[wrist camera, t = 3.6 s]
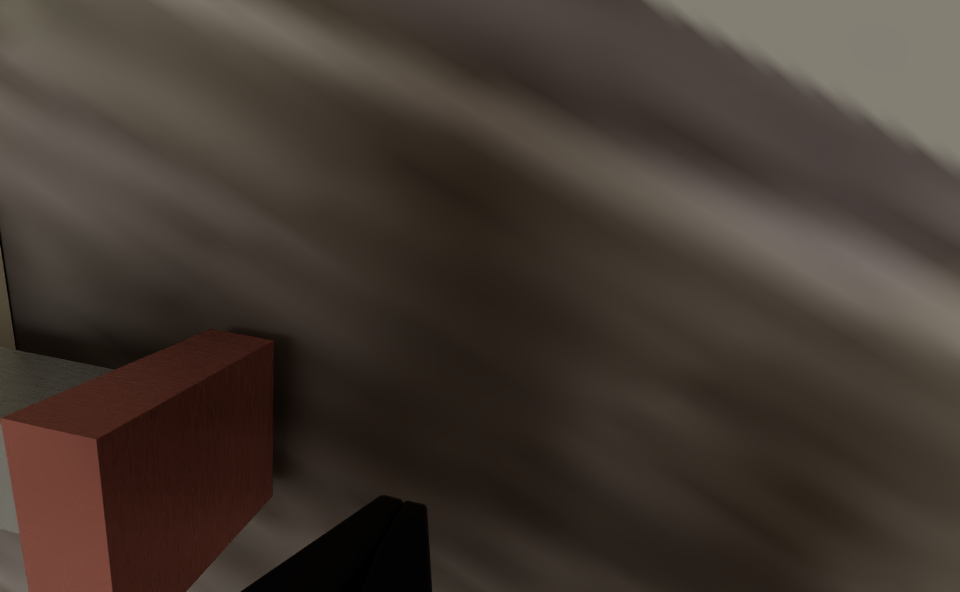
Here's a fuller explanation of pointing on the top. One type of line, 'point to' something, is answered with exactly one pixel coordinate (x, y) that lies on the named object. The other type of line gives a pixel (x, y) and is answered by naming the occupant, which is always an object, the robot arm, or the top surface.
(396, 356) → the top surface
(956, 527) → the top surface
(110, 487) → the pin
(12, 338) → the block
